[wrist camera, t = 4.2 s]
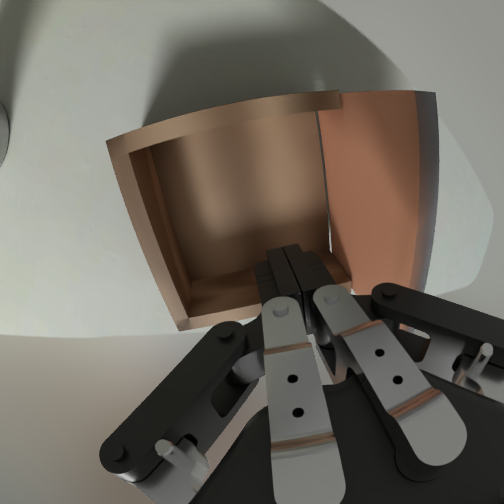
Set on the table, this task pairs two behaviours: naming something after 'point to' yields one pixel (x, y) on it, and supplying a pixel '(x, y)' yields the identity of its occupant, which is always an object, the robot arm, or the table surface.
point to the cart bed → (226, 200)
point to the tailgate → (382, 186)
